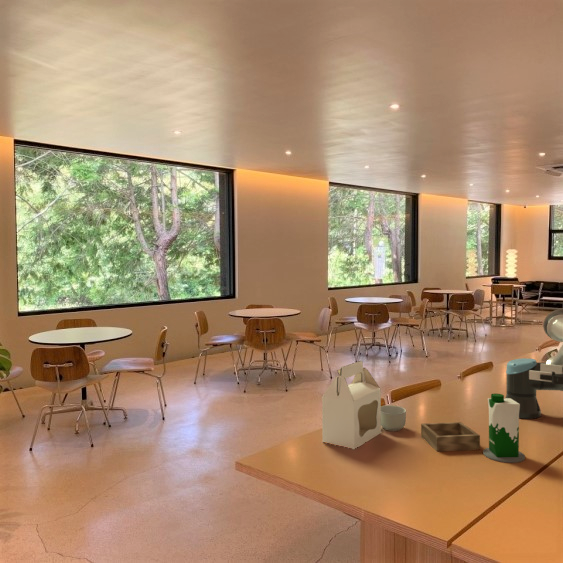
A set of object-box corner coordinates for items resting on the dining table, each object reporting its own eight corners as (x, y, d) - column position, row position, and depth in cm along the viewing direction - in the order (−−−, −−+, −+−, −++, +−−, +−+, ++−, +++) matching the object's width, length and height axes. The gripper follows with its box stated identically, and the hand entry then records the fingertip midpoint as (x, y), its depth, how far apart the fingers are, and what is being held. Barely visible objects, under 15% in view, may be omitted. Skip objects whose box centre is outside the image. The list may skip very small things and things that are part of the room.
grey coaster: (511, 447, 182) (511, 446, 182) (533, 461, 169) (533, 460, 169) (476, 449, 181) (476, 447, 181) (494, 463, 168) (494, 461, 168)
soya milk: (485, 449, 179) (485, 391, 179) (511, 448, 179) (511, 391, 179) (495, 458, 171) (495, 398, 170) (523, 458, 170) (523, 398, 170)
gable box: (351, 427, 208) (350, 357, 207) (381, 433, 200) (381, 360, 199) (321, 442, 190) (321, 366, 189) (354, 450, 182) (353, 371, 181)
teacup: (407, 425, 208) (407, 406, 208) (404, 434, 198) (404, 413, 197) (372, 422, 213) (372, 403, 212) (368, 431, 202) (368, 410, 202)
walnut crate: (460, 435, 196) (460, 422, 196) (479, 449, 181) (479, 435, 181) (421, 436, 195) (421, 423, 195) (437, 451, 179) (437, 437, 179)
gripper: (605, 401, 145) (524, 390, 158) (618, 384, 164) (544, 375, 177) (605, 374, 144) (524, 365, 158) (618, 361, 163) (544, 354, 177)
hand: (535, 371), depth 168 cm, fingers open, 13 cm apart
